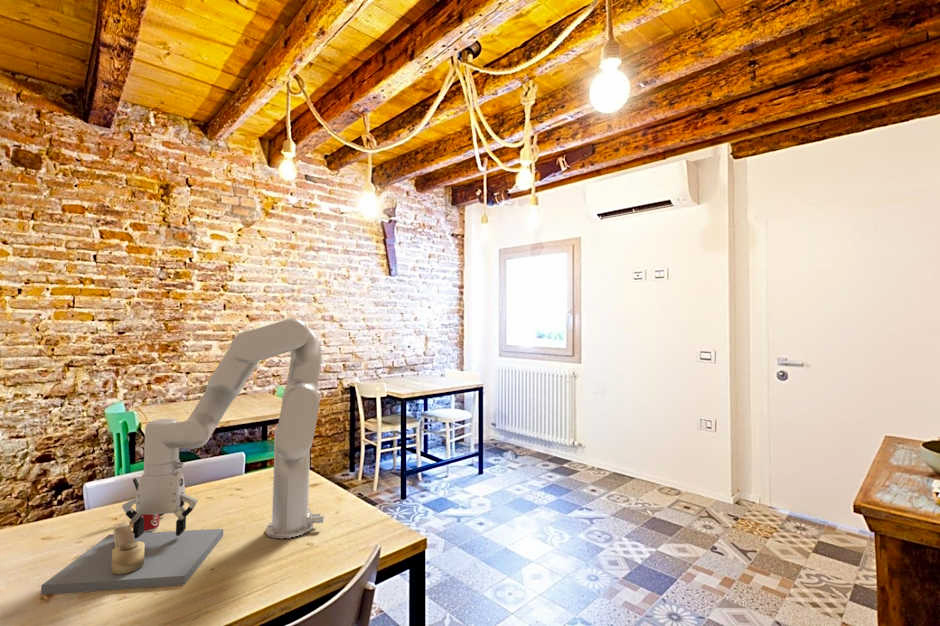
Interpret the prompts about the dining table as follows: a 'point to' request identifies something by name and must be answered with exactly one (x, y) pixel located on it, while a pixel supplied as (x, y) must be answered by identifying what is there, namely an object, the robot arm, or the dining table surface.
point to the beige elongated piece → (126, 550)
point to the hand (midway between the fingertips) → (159, 534)
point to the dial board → (162, 567)
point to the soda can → (150, 522)
